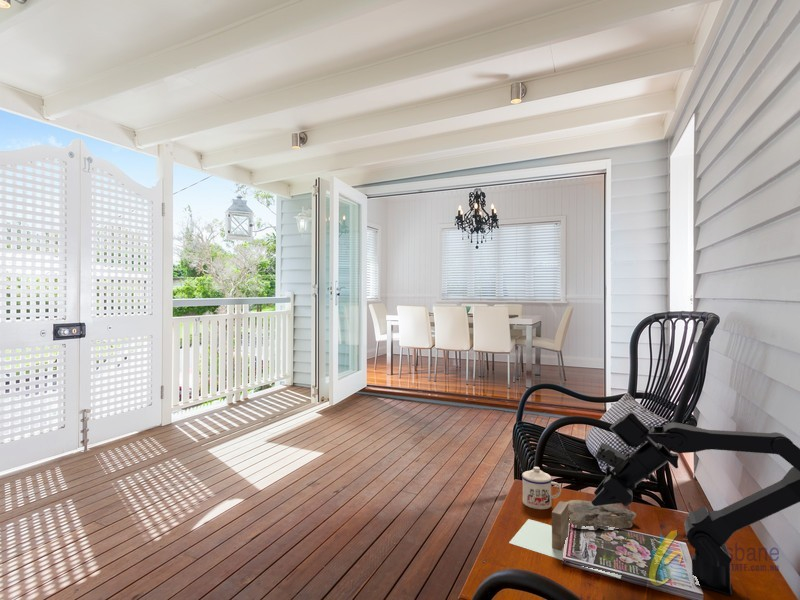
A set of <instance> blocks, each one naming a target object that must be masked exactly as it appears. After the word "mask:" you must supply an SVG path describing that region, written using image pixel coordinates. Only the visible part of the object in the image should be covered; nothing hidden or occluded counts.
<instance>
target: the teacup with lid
mask: <svg viewBox="0 0 800 600" xmlns="http://www.w3.org/2000/svg"><path fill="white" fill-rule="evenodd" d="M521 478H522V503H523V505H524V506H526V507H529V508H531V509H534V510H547V509H550V508H552V499H557V498H559V496H560V495H561V492H562V486H561V485H560V483H558V482H555V481H553V479H552V477H551V475H550V474H549V473H546V472H544V471H543V470H541V469H540V467H539V466H534V467H533V468H532V469H531V470H526V471H524V472H522V474H521ZM552 485H553V486H557V489H558V490H557V492H556V493H555V494H552Z"/></svg>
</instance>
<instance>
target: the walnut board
mask: <svg viewBox="0 0 800 600" xmlns="http://www.w3.org/2000/svg"><path fill="white" fill-rule="evenodd" d="M566 502H567V501H563V500H560V501H558V503H557V504H556V505H555V507H554V508H553V510H552V511H551V525H552V548H553V549H557V550H560V551H561V550H562V548H563V546H564V544H565V540H566V538H567V537H568V535H569V527H570V525H569V522H570V521H569V518H568V503H566Z"/></svg>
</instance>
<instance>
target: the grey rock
mask: <svg viewBox="0 0 800 600" xmlns="http://www.w3.org/2000/svg"><path fill="white" fill-rule="evenodd" d="M565 502H566V503H568V518H569V519H570V521H569V522H571V524H573V525H577V526H585V527H586V526H595V527H597V526H601V525H602V526H609V527H615V528H620V529H619V530H621V529H631V528H632V527H633V524H634V523H633V521H634V519H635V518H637V513H636V512H634V511H632V510H630V509H628V508H626V507H625V506H622V505H619V503H618V504H607V505H600V506H594V505H593V504H592V503H591V502H592V501H591V500H583V499H570V500H568V501H565Z"/></svg>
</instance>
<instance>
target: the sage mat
mask: <svg viewBox="0 0 800 600" xmlns="http://www.w3.org/2000/svg"><path fill="white" fill-rule="evenodd" d="M508 544H511V545H514V546H517V547H520V548H524V549H525V550H526V549H527V550H530V551H533V552H535V553H539V554H542V555H545V556H547V557H548V556H549V557H552V558H553V559H556V560H561V561H564V560H563V548H564V546H563V548H562V550H561V551H560V550H557V549H553V548H552V524H551V525H550V524H547V523H544V522H541V521H537V520H534V519H533V520H532V519H530V518H528V519H527V520H526V521H525V523H524V524H523V525H522V526H521V527H520V528H519V530H518V531H517V532H516V533H515V535H514V536H513V537H512V538H511V539H510V541H509V542H508ZM564 562H565V561H564ZM581 567H583V568H586V569H589V570H592V571H595V572H599V573H602V574H604V575H608V576H610V577H614V578H617V579H621V578H622V575H618V574H615V573H610V572H605V571H602V570H598V569H593V568H588V567H584V566H581Z"/></svg>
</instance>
